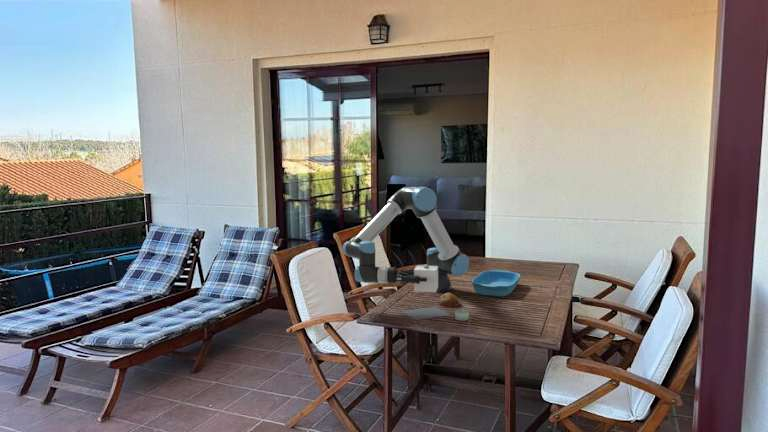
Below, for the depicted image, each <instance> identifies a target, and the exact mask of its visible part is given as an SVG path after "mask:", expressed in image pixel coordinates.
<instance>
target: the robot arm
mask: <svg viewBox="0 0 768 432" xmlns="http://www.w3.org/2000/svg"><path fill="white" fill-rule="evenodd" d="M437 200H438V199H437V195H436V192H435V191H434V190H433V189H431V188H430V187H427V186H424V185H423V186H415V185H407V186H403V187H402V188H400V189H398V190H397V191H396V192H395V193H393V195H391V196H390V197H389V199H388V200H387V201H386V203H387V204H386V205H384V207H383V208H381V210H380V211H378V213H376V215H375V216H374V217H373V218H372V219H370V221H369V222H368V223H367V224H366V225H365V227H363V229H361V231H359V233H358V234H356V235H355V237H354V238H353V239H352V240H348V241H346V242H344V243H343V245H342V252H343V254H344V255H346V256H347V257H349V258H353V259H356V260H359V263H358V265H357V266H356V267H355V268H354V279H355V281H356V282H358V283H365V284H366V283H367V284H368V283H372V284H373V283H374V284H375V283H376V284H378V283H379V284H380V285H383V284H387V283H388V284H396V283H397V282H402V283H411V284H414V283H417V284H420V282H431V283H434V276H420V277H419V276H414V269H401V270H400V271H398V268H397V267H396V266H395V267H394V266H376V244H375V242H374V240H375V239H376V238H377V237H378V236H379V235H380V234H381V233H382V231H383V230H385V228H387V226H388V225H389V224H390V223H391V222H392V221H393V220H394V218H395V217H396V216H398V215H400V214H402V213H403V212H404V211H406V210H412V212H413V213H414V215H415V217H416V218H418V219H420V220H421V221H422V224H423V225H424V227H425V229H426V231H427V232H428V235H429V237H430V238H431V241H432V242H433V244H434V246H435V247H430V248H428V249H427V250H426V265H429V266H438V289H437V291H436V292H435V293H441V292H448V291H451V290H452V283H451V281H450V277H449V275H452V276H456V277H457V276H458V277H460V276H463V275H464V274H466V273H467V271H468V269H469V265H470V259H469V257H468V255H466V254H465V253H462V252H461V250H460V248H459V246H457V245H456V244H454V242H453V241H452V238H450V235H449V233H448V232H447V229H446V228H445V225H444V223H443V222H442V220H441V218H440V216H439V213H438V212H437V207H438V206H437Z"/></svg>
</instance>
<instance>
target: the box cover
mask: <svg viewBox="0 0 768 432" xmlns="http://www.w3.org/2000/svg"><path fill="white" fill-rule="evenodd" d="M413 270H414V276H419V277H420V276H434V283H431V282H420V284H417V283H413V292H415V293H416V292H419V293H437V292H436V291H437V289H438V266H429V265H427V264H422V265H419V264H418V265H416V266H415V267H414V269H413Z"/></svg>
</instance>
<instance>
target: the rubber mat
mask: <svg viewBox="0 0 768 432" xmlns="http://www.w3.org/2000/svg"><path fill="white" fill-rule="evenodd" d="M402 313H404V315H406V316H408V317H410V318H411V319H413V320H414V321H418V320H425V319H432V318H438V317H443V316H444V317H445V316H450V315H451V314H450V313H448V312H447V311H445V310H443V309H441V308H439V307H436V306H432V307H431V306H429V307H424V308H423V307H422V308H417V309H411V310H410V309H409V310H404V311H403V310H402Z"/></svg>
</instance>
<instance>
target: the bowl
mask: <svg viewBox="0 0 768 432" xmlns="http://www.w3.org/2000/svg"><path fill="white" fill-rule="evenodd" d="M469 313H470V312H469V310H468V309H465V308H464V309H463V308H462V309H461V308H458V309H456V310H454V319H455V320H456V321H459V322H460V321H461V322H464V321H468V320H470V319H469V318H470V317H469V316H470V314H469Z"/></svg>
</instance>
